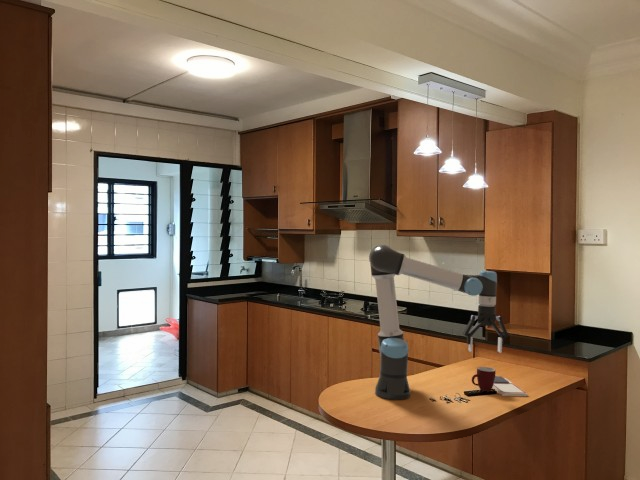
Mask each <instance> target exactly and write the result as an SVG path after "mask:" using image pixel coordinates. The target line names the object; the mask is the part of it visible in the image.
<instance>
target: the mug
mask: <svg viewBox="0 0 640 480" xmlns="http://www.w3.org/2000/svg"><path fill="white" fill-rule="evenodd" d="M495 376H496V369H495V368H493V367H490V366H488V367H487V366H478V367H477V368H476V373H475V374H474V375H472V377H471V382H472V384H473V385H475V386H477V387H478V388H479V389H480V390H479V391H481V390H487V391H490V392H491V391H492V389H493V388H492V387H493V384H494V380H495ZM475 379H477V383H476V382H475Z"/></svg>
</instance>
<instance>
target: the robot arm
mask: <svg viewBox="0 0 640 480" xmlns="http://www.w3.org/2000/svg"><path fill="white" fill-rule="evenodd" d="M368 260H369V265H370V273H371V277H372V278H374V280H375V288H376V289H375V290H376V298H377V308H378V316H379V317H378V318H379V319H378V320H379V328H380V330H379V332H378V333H377V339H378V353H379V355H380V363H379V364H380V365H379V366H380V368H379V369H380V370H379V377H378V380H377V383H376V385H375V387H374V394H375V395H376V396H378V397H379V398H383V399H387V400H391V401H392V400H393V401H394V400H395V401H396V400H397V401H399V400H400V401H401V400H402V401H403V400H407V399H409V398H410V397H411V389H410V385H409V381H408V360H409V359H408V357H409V351H410V349H409V344H408V342H407V341H406V340H405V337H404V331H403V330H402V329H400V323H399V314H398V304H397V302H398V301H397V294H396V285H395V276H400V275H404V276H406V277H411V278H414V279H418V280H420V281H424V282H427V283H431V284H435V285H438V286H441V287H444V288H447V289H451V290H453V291H457V292H460V293H464V294H467V295H469V296H473V297H474V296H475V297H476V296H478V307H477V315H473V314H471V315H470V319H469V321H468V322H467V325H466V327H465V329H464V331H463V332H462V335H463V336H465V337H466V344H467V345H468V348H467V350H468V352H470V353H472V352H473V341H474V340H473V338H474V337H472V336H473V335H474V334H475V333H476V332H477V331H478V329H480V328H481V327H482V326H483V327H486V326H487V327H492V328H493V330H495V332H496V333H497V334H498V336H499V337H497V353H500V354H501V353H502V352H503V351H502V350H503V346H504V344H505V339H506V338H509V333H508V331H507V329H506V326H505V323H504V321H503V316H500V315H497V316H496V305H497V284H498V274H497V272H496V271H493V270H492V271H490V270H480V272H479V273H478V274H463V273H461V272H460V273H459V272H457V271H453V270H451V269H450V270H449V269H447V268H443V267H440V266H436V265H433V264H431V263H427V262H425V261H420V260H418V259H414V258H410V257H407V256H406V254H404V253H402V252H399V251H397V250H395V249H393V248H391V247H390V246H389V245H385V244H380V245H379V244H378V245H376V246H373V248H372V249H371V251H370V252H369V255H368ZM476 320H477V322H476V323H475V321H476ZM495 321H497V323H498V325H499V327H500V328H499V327H498V326H497V324H496V323H495ZM474 324H475V325H474ZM500 329H501V330H500Z"/></svg>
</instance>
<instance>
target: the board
mask: <svg viewBox="0 0 640 480" xmlns="http://www.w3.org/2000/svg"><path fill="white" fill-rule="evenodd" d="M492 389H493V390H494V389H495V390H494V391H495V392H497V393H498V394H499V395H500V396H502V397H503V396H506V397H528V395H529V394H528V393H527V392H526V391H524V390H523V389H522V388H520V387H519V386H517V384H515V383H514V382H512V381H510V380H509V379H508V378H507V377H503V376H500V375H499V376H498V375H495V380H494V384H493V387H492Z"/></svg>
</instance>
